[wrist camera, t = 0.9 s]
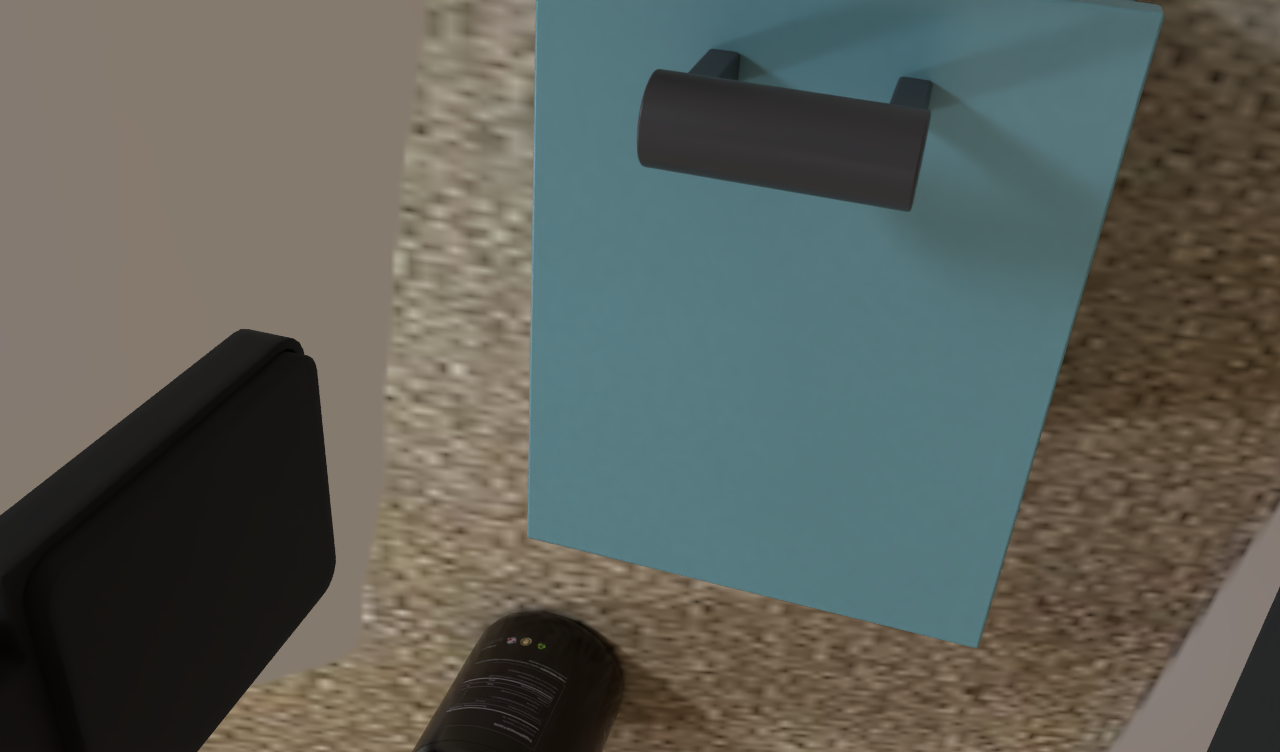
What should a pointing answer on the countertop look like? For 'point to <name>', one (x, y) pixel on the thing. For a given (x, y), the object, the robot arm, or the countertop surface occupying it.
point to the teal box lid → (814, 282)
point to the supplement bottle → (529, 691)
